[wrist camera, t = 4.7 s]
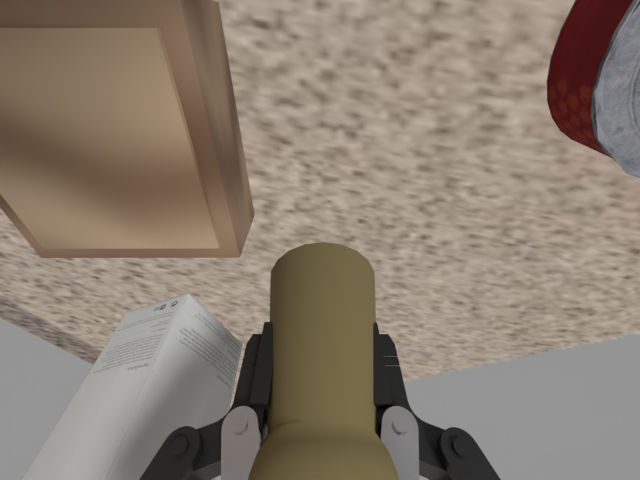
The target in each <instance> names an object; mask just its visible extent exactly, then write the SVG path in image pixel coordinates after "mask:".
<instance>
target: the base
mask: <svg viewBox="0 0 640 480" xmlns="http://www.w3.org/2000/svg"><path fill="white" fill-rule="evenodd" d="M0 208H1V209H2V211H3V212H4V213H5V214H6V216H7V217H8V218H9V219H10V220H11V222H12V223H13V224H14V225H15V227H16V228H17V229H18V230H19V232H20V233H21V234H22V235H23V237H24V238H25V239H26V240H27V241H28V243H29V244H30V245H31V246H32V248H33V249H34V250H35V251H36V253H37V254H38V255H39V256H40V258H240V256H241V253H242V250H243V247H244V244H245V241H246V239H247V236H248V233H249V230H250V227H251V224H252V221H253V218H254V215H255V214H254V208H253V203H252V197H251V191H250V185H249V179H248V173H247V167H246V161H245V155H244V149H243V143H242V137H241V131H240V126H239V120H238V114H237V108H236V102H235V96H234V90H233V84H232V78H231V72H230V66H229V60H228V55H227V49H226V43H225V37H224V31H223V25H222V19H221V13H220V7H219V2H217V1H212V0H0Z"/></svg>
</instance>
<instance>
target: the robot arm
mask: <svg viewBox="0 0 640 480" xmlns="http://www.w3.org/2000/svg"><path fill="white" fill-rule="evenodd" d="M272 373H273V324H272V322H264V325H263V331H262V334H253V335H252V336H251V338H250V339H249V341H248V342H247V344H246V348H245V352H244V357H243V361H242V367H241V370H240V375H239V379H238V384H237V388H236V392H235V397H234V401H233V404H232V406H231V408H230V410H229V411H228V413H227V414H226V415H225V416H224V417H223V418H221V419H220V420H218V421H217V422H214V423H212V424H209V425H206V426H204V427H201V428H198V429H195V428H193V427H191V426H183V427H180V428H178V429H176V430H175V431H173V432H172V433H171V434H170V435H169V436H168V437H167V438H166V440H165V441H164V443H163V444H162V446H161V447H160V449H159V450H158V452H157V453H156V455H155V456H154V458H153V459H152V461H151V462H150V464H149V466H148V467H147V469H146V470H145V472H144V473H143V475H142V476H141V478H140V479H139V480H211V479H213V478H215V477H218V476H220V475H221V480H248V477H249V473H250V471H251V468H252V465H253V463H254V460H255V457H256V455H257V452H258V450H259V449H260V446H261V443H262V442H263V441H264V439H265V438H266V437H267V430H268V409H269V405H270V394H271V384H272ZM373 404H374V405H375V406H376V408H377V409H378V423H379V437H380V440H381V441H382V443H383V444H384V445H385V447H386V448H387V449H388V450H389V452H390V455H391V457H392V460H393V462H394V465H395V468H396V470H397V473H398V475H399V480H419V475H420V476H423V477H425V478H427V479H429V480H501V479H500V478H499V476H498V475H497V473H496V472H495V470H494V469H493V467H492V466H491V464H490V462H489V461H488V459H487V458H486V456H485V455H484V453H483V452H482V450H481V449H480V447H479V446H478V444H477V443H476V441H475V440H474V439H473V437H472V436H471V435H470V434H469V433H467V432H466V431H464V430H463V429H460V428H457V427H450V428H448V429H446V430H445V429H442V428H439V427H437V426H434V425H431V424H429V423H426V422H424V421H423V420H421V419H420V418H418V417H417V416H416V415H415V413H414V412H413V411H412V409H411V408H410V405H409V403H408V399H407V395H406V390H405V386H404V382H403V377H402V373H401V368H400V364H399V360H398V355H397V351H396V346H395V343H394V342H393V340H392V339H391V337H390V336H389V334H379V329H378V325H377V322H374V324H373Z"/></svg>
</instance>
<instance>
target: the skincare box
mask: <svg viewBox="0 0 640 480" xmlns="http://www.w3.org/2000/svg"><path fill="white" fill-rule="evenodd" d="M242 346H243V345H242V344H241V343H240V342H239V341H238V340H237V339H236V338H235V337H234V336H233V335H232V334H231V333H230V332H229V331H228V330H227V329H226V328H225V327H224V326H223V325H222V324H220V323H219V322H218V321H217V320H216V319H215V318H214V317H213V316H212V315H211V314H210V313H209V312H208V311H207V310H206V309H205V308H204V307H203V306H202V305H201V304H200V303H199V302H198V301H197V300H196V299H195V298H194V297H193V296H191V295H190V294H185V295H181V296H178V297H174V298H171V299H167V300H164V301H161V302H158V303H154V304H151V305H148V306H145V307H142V308H138V309H135V310H132V311H130V312H127V313H126V314H125V315H124V317H123V318H122V320H121V322H120V323H119V325H118V327H117V328H116V330H115V332H114V333H113V335H112V336H111V338H110V339H109V341H108V343H107V344H106V346H105V347H104V349H103V351H102V352H101V354H100V355H99V357H98V359H97V360H96V362H95V363H94V365H93V367H92V368H91V370H90V371H89V373H88V375H87V376H86V378H85V379H84V381H83V383H82V384H81V386H80V387H79V389H78V391H77V392H76V394H75V395H74V397H73V399H72V400H71V402H70V403H69V405H68V406H67V408H66V410H65V411H64V413H63V415H62V416H61V418H60V420H59V421H58V423H57V424H56V426H55V428H54V429H53V431H52V432H51V434H50V436H49V437H48V439H47V440H46V442H45V444H44V445H43V447H42V448H41V450H40V452H39V453H38V455H37V456H36V458H35V460H34V461H33V463H32V464H31V466H30V468H29V469H28V471H27V472H26V474H25V476H24V477H23V479H22V480H139V479H140V478H141V476H142V475H143V473H144V472H145V470H146V469H147V467H148V466H149V464H150V462H151V461H152V459H153V458H154V456H155V455H156V453H157V452H158V450H159V449H160V447H161V446H162V444H163V443H164V441H165V440H166V438H167V437H168V436H169V435H170V434H171V433H172V432H173V431H175V430H176V429H178V428H180V427H183V426H191V427H193V428H195V429H198V428H201V427H204V426H206V425H209V424H212V423H214V422H217V421H218V420H220V419H221V418H223V417H224V416H225V415H226V414H227V413H228V411H229V408H230V403H231V398H232V394H233V389H234V384H235V379H236V374H237V369H238V365H239V360H240V355H241V350H242ZM211 480H215V478H213V479H211Z"/></svg>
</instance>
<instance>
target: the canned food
mask: <svg viewBox="0 0 640 480" xmlns="http://www.w3.org/2000/svg"><path fill="white" fill-rule="evenodd" d="M547 103H548V106H549V110H550V114H551V117H552V119H553V121H554V122H555V124H556V125H557V127H558V128H559V130H560V131H561V132H562V133H564V134H565V135H566V136H567V137H569V138H570V139H571V140H573V141H576V142H578V143H580V144H582V145H584V146H586V147H589V148H591V149H593V150H595V151H597V152H600V153H602V154H604V155H606V156H608V157H610V158H613V159H614V160H615V161H617V163H618V164H619V165H620V166H621V168H622V169H623V170H624V171H625V173H627V174H629V175H632V176H635V177H637V178H640V0H575V2H574V4H573V6H572V8H571V10H570V12H569V14H568V16H567V18H566V20H565V22H564V24H563V26H562V28H561V30H560V32H559V35H558V38H557V41H556V44H555V47H554V50H553V52H552V55H551V59H550V65H549V70H548V76H547Z"/></svg>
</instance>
